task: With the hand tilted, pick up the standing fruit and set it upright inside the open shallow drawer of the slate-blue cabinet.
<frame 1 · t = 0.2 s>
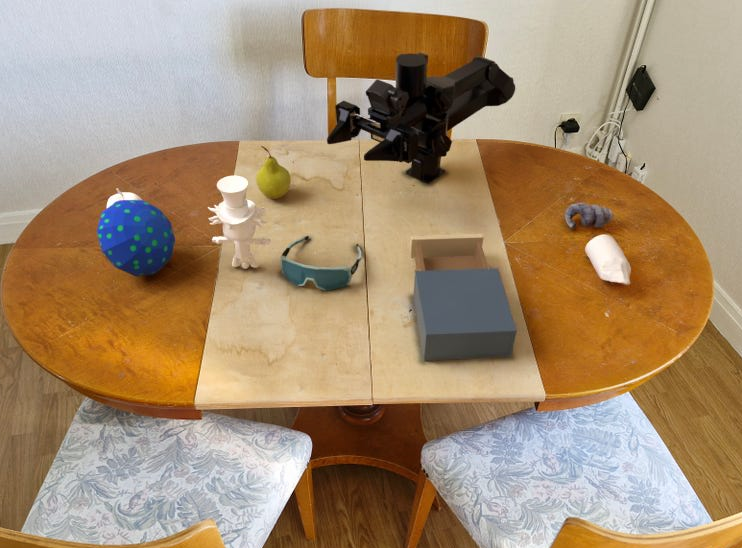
hand: (345, 149, 126), 17 cm above the table, tool horizontal, fingers open, 9 cm apart
figurine: (245, 268, 128), on the table
plain white apple: (130, 225, 137), on the table
drawer: (451, 266, 125), point 3 cm above the table, slide at 10.0 cm
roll: (607, 278, 129), on the table
fruit: (275, 196, 144), on the table
cabinet: (460, 325, 119), on the table
polka dot ball: (142, 265, 128), on the table
seashell: (586, 225, 140), on the table
sunglasses: (322, 266, 129), on the table
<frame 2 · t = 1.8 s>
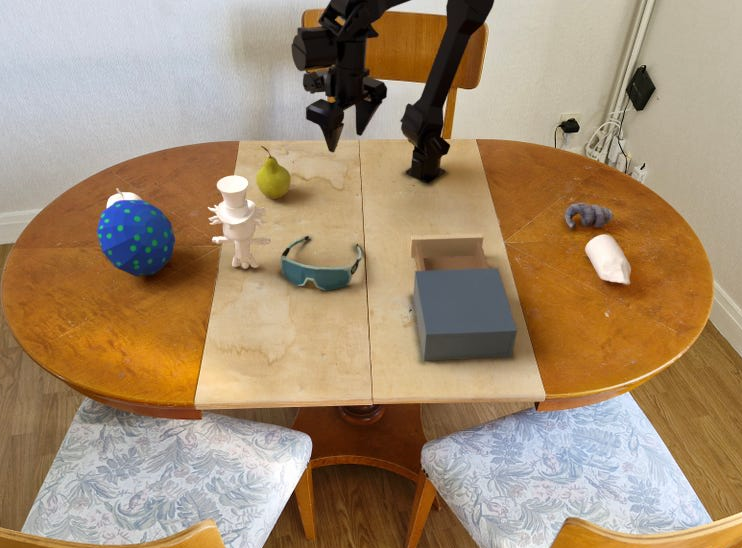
hand: (345, 143, 135), 12 cm above the table, tool pointing down, fingers open, 9 cm apart
nothing on the table moved.
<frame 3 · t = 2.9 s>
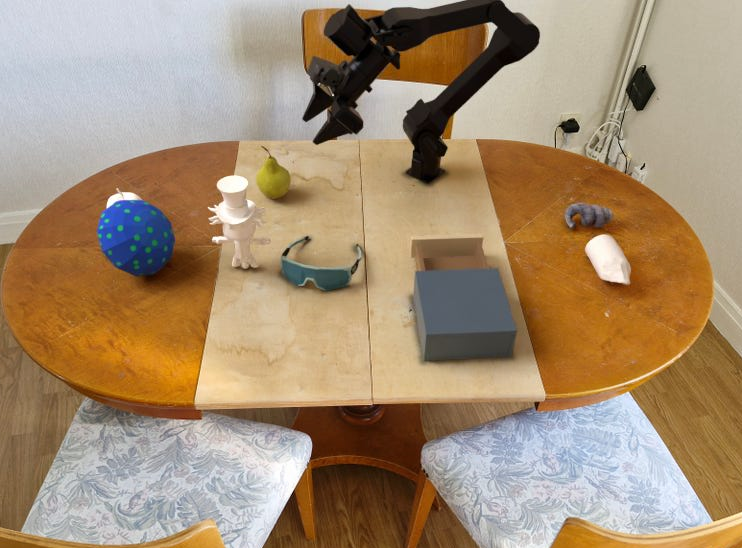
hand: (309, 131, 136), 13 cm above the table, tool tilted 45°, fingers open, 9 cm apart
nothing on the table moved.
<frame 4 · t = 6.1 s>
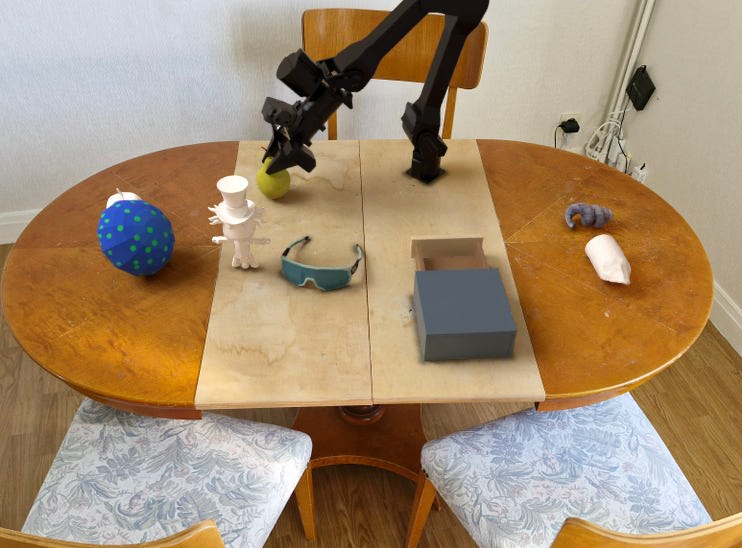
hand: (265, 168, 139), 7 cm above the table, tool tilted 45°, fingers closed on fruit, 4 cm apart
fruit: (275, 196, 144), on the table, touching gripper
everything else where it was.
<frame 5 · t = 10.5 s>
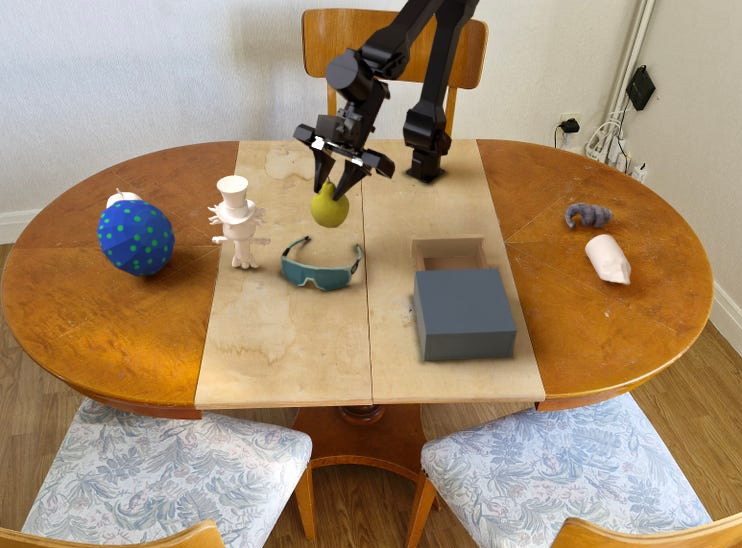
hand: (324, 196, 121), 13 cm above the table, tool tilted 45°, fingers closed on fruit, 4 cm apart
fruit: (330, 224, 127), point 6 cm above the table, touching gripper
everything else where it was.
when the fingers open (9 cm above the table, at t = 14.9 s): fruit stays where it is, resting on drawer.
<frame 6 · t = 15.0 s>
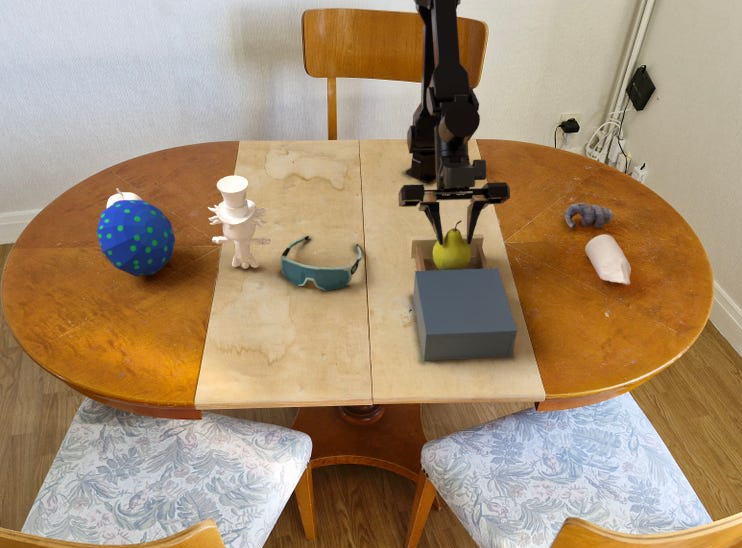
hand: (455, 244, 120), 9 cm above the table, tool tilted 45°, fingers open, 4 cm apart
drawer: (451, 267, 125), point 3 cm above the table, slide at 9.8 cm, touching fruit
fruit: (449, 270, 126), point 2 cm above the table, touching drawer
everything else where it was.
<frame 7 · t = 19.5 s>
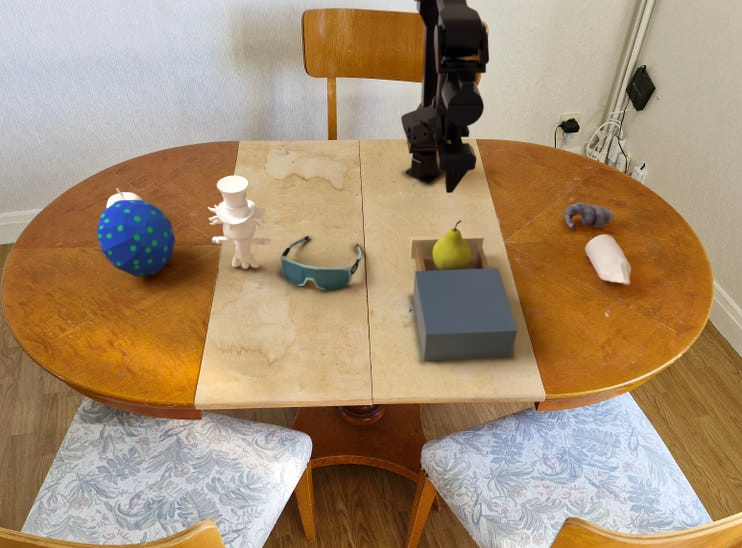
hand: (445, 178, 127), 13 cm above the table, tool pointing down, fingers open, 9 cm apart
nothing on the table moved.
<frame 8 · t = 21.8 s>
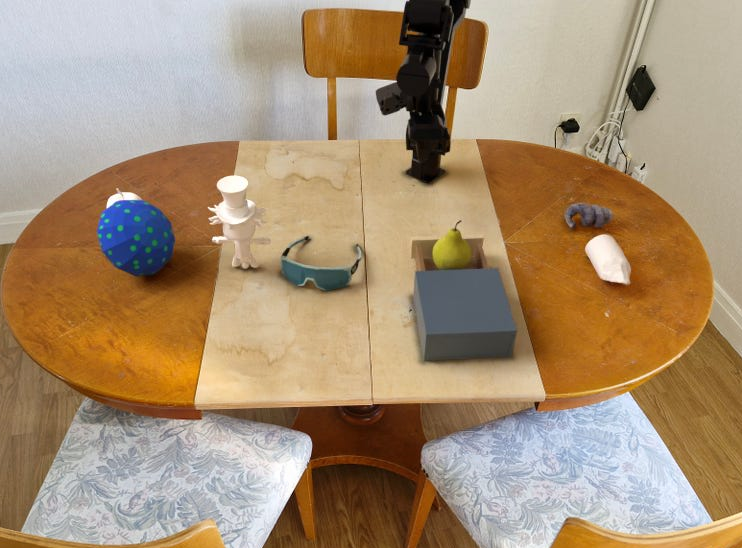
hand: (418, 149, 135), 12 cm above the table, tool pointing down, fingers open, 9 cm apart
nothing on the table moved.
at the end: fruit inside the target area in the drawer (0.4 cm from its centre), point 1.8 cm above the drawer's base; fruit tilted 0°; the gripper is holding nothing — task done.
